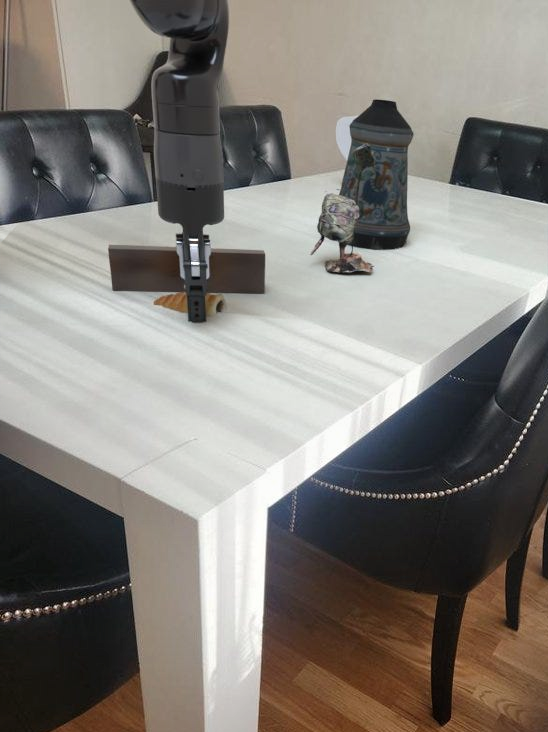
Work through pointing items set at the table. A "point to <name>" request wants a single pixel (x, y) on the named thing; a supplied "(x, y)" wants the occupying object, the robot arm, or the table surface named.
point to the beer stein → (380, 177)
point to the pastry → (180, 303)
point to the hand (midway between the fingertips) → (197, 322)
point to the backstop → (162, 269)
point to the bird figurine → (344, 220)
